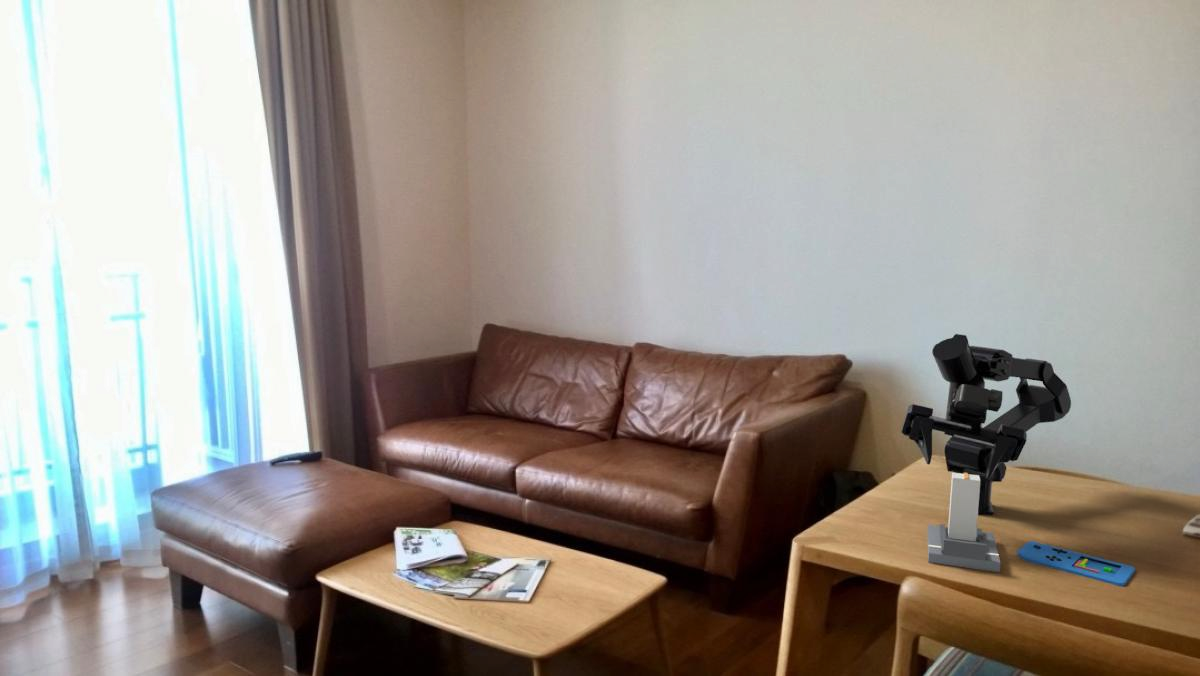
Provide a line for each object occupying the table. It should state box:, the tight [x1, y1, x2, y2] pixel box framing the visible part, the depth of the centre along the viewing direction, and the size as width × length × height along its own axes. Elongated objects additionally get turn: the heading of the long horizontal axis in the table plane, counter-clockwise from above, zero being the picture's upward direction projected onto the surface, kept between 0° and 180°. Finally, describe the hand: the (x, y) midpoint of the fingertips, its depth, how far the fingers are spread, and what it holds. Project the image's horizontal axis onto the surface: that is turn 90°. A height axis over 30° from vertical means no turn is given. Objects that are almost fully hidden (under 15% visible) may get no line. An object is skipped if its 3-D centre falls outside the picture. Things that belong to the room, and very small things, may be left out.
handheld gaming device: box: [1016, 540, 1136, 587], centre depth 128 cm, size 8×1×15 cm
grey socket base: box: [926, 523, 1001, 573], centre depth 132 cm, size 13×10×4 cm
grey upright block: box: [947, 472, 980, 542], centre depth 133 cm, size 3×4×10 cm
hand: (958, 470), depth 135 cm, fingers open, 9 cm apart
